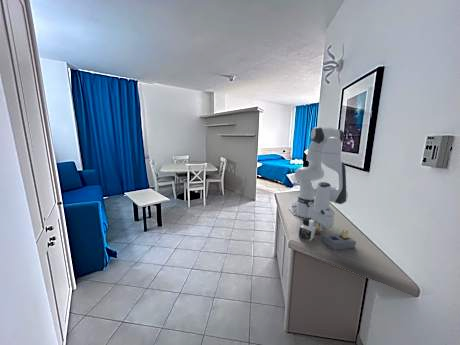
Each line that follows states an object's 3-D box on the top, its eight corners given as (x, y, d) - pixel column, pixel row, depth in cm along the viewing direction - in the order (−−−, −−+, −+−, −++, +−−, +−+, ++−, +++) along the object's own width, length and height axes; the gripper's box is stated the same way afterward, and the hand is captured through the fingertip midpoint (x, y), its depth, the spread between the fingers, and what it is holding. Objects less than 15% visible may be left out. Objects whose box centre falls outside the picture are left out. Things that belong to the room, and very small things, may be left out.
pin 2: (339, 242, 121) (340, 230, 120) (343, 242, 122) (345, 229, 121) (343, 245, 118) (345, 232, 117) (347, 244, 119) (349, 232, 118)
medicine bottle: (298, 237, 125) (300, 219, 123) (303, 233, 130) (305, 216, 128) (309, 241, 120) (312, 222, 118) (314, 237, 126) (316, 219, 124)
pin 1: (313, 232, 132) (315, 221, 131) (318, 232, 133) (319, 221, 132) (316, 235, 129) (318, 223, 128) (321, 234, 130) (322, 223, 129)
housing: (334, 249, 113) (335, 243, 112) (322, 240, 122) (323, 234, 122) (354, 247, 116) (356, 241, 115) (341, 239, 126) (342, 233, 125)
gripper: (306, 202, 137) (304, 222, 140) (327, 214, 118) (324, 236, 120) (315, 202, 139) (312, 221, 141) (336, 213, 119) (333, 235, 122)
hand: (318, 228), depth 131 cm, fingers closed on pin 1, 3 cm apart
